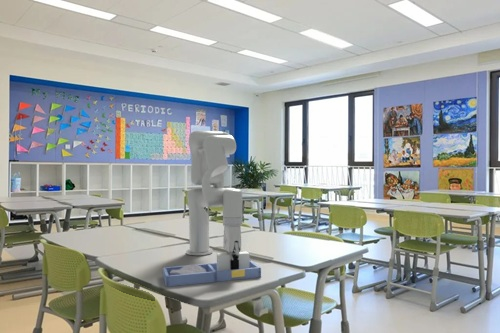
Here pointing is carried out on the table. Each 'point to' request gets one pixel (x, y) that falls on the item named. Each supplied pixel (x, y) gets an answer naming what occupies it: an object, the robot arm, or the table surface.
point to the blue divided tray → (209, 274)
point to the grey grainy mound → (188, 270)
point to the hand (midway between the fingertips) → (233, 268)
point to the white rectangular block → (225, 258)
